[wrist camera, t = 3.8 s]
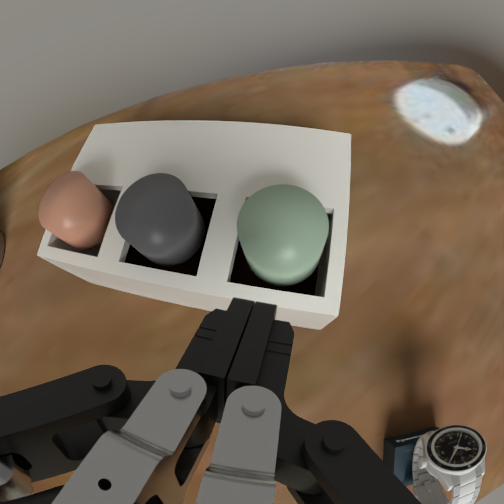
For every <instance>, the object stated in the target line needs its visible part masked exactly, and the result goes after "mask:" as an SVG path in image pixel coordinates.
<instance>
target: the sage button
mask: <svg viewBox="0 0 504 504" xmlns="http://www.w3.org/2000/svg"><path fill="white" fill-rule="evenodd" d="M328 231H329V222H328V216H327V213H326V211H325V208H324V207H323V205H322V204H321V202H320V201H319V200H318V199H317V198H316V197H315V196H314V195H313V194H312V193H310V192H309V191H307V190H305V189H303V188H301V187H298V186H294V185H288V184H277V185H271V186H268V187H265V188H263V189H260V190H259V191H257V192H255V193H254V194H253V195H251V196H250V197H249V198H248V199H247V200H246V202H245V203H244V204H243V206H242V207H241V210H240V212H239V215H238V218H237V234H238V238H239V241H240V243H241V246H242V249H243V251H244V254H245V257H246V260H247V262H248V265H249V267H250V268H251V270H252V271H253V273H254V274H255V275H256V276H257V277H258V278H260V279H261V280H263V281H265V282H266V283H269V284H272V285H276V286H290V285H294V284H297V283H300V282H302V281H303V280H305V279H307V278H308V277H309V276H310V275H311V274H312V273H313V272H314V270H315V269H316V267H317V265H318V263H319V260H320V257H321V254H322V251H323V248H324V245H325V242H326V239H327V236H328Z"/></svg>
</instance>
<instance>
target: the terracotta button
mask: <svg viewBox="0 0 504 504" xmlns="http://www.w3.org/2000/svg"><path fill="white" fill-rule="evenodd" d="M112 213H113V207H112V204H111V202H110V201H109V200H108V199H107V198H106V197H105V196H104V195H103V194H102V193H101V192H100V191H99V189H98V188H97V187H96V186H95V185H94V184H93V183H92V182H91V181H90V180H89V179H88V178H87V177H86V176H85V175H84V174H83V173H82V172H79V171H69V172H67V173H64V174H62V175H61V176H59V177H58V178H57V179H56V180H55V181H53V183H52V184H51V185H50V186H49V187H48V189H47V190H46V192H45V194H44V195H43V198H42V200H41V203H40V207H39V220H40V223H41V225H42V226H43V227H44V228H45V229H46V230H48V231H49V232H51V233H52V234H54V235H55V236H57V237H58V238H60V239H61V240H63V241H65V242H66V243H68V244H69V245H71V246H72V247H74V248H76V249H79V250H86V249H90V248H92V247H94V246H95V245H97V244H98V243H99V242H100V241H101V240H102V239H103V238H104V236H105V233H106V230H107V227H108V224H109V222H110V219H111V216H112Z"/></svg>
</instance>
